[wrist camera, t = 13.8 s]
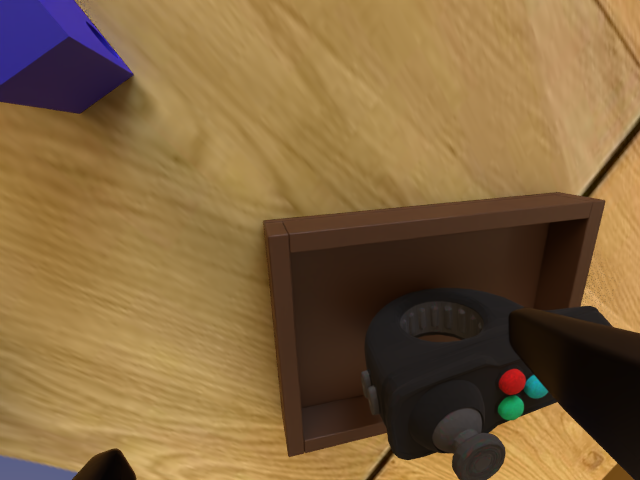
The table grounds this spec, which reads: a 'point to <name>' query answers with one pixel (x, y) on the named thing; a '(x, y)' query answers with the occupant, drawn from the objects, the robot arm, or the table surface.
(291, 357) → the tray
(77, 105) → the purple stepped block
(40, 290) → the table surface
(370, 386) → the controller
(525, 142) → the table surface
